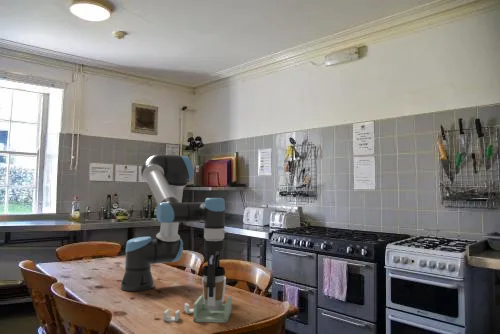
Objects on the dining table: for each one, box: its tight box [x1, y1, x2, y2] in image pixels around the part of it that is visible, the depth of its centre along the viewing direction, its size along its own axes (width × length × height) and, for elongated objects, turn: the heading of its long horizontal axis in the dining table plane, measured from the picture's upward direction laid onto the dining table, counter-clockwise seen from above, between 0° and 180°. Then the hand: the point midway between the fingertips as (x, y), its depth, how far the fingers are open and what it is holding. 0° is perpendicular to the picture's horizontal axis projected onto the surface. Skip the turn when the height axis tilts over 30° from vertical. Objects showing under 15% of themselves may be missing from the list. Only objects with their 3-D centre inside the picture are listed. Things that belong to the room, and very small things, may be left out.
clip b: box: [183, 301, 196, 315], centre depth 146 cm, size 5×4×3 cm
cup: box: [201, 275, 227, 303], centre depth 159 cm, size 10×10×10 cm
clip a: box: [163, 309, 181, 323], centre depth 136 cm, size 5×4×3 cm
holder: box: [192, 294, 233, 324], centre depth 140 cm, size 12×12×6 cm
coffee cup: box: [201, 265, 226, 311], centre depth 141 cm, size 8×8×15 cm
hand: (213, 302), depth 140 cm, fingers closed on coffee cup, 7 cm apart
